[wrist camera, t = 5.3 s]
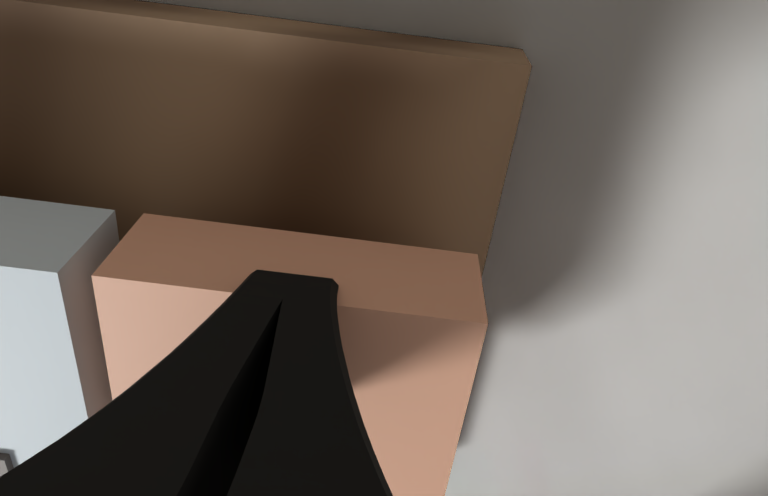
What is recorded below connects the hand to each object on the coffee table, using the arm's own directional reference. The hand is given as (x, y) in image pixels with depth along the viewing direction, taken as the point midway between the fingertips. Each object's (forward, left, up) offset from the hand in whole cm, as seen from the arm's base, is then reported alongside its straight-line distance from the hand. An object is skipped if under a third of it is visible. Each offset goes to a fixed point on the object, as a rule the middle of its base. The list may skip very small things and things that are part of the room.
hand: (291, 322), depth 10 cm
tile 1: (0, +2, -1) cm, 2 cm away
